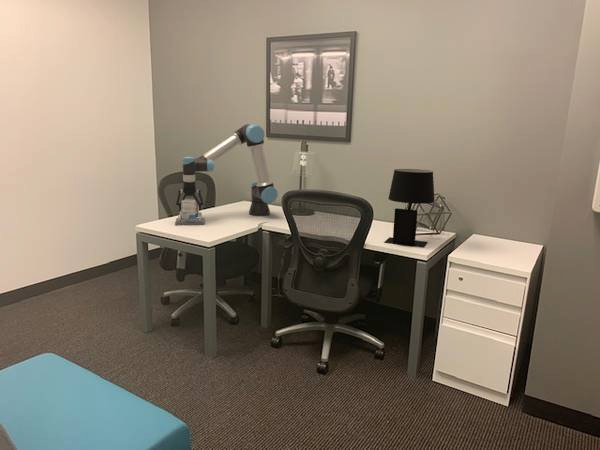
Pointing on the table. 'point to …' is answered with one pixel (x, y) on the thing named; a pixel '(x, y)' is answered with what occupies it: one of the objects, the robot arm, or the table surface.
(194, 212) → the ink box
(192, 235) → the table surface
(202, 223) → the chassis
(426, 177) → the table lamp
